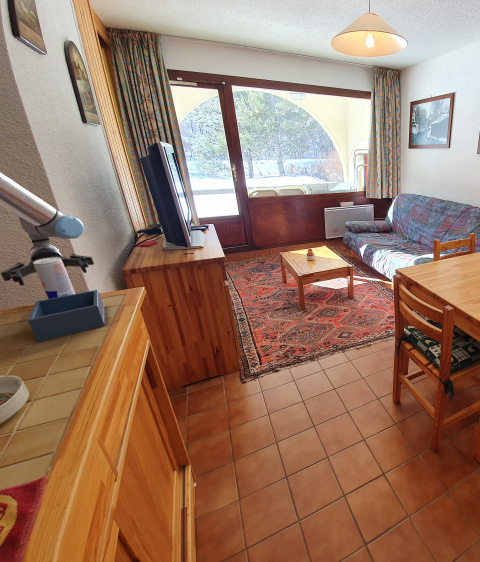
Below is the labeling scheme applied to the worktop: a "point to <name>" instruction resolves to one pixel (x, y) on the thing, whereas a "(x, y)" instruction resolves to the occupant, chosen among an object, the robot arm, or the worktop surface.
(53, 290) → the beverage can
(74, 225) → the robot arm
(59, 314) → the tote
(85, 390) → the worktop surface
